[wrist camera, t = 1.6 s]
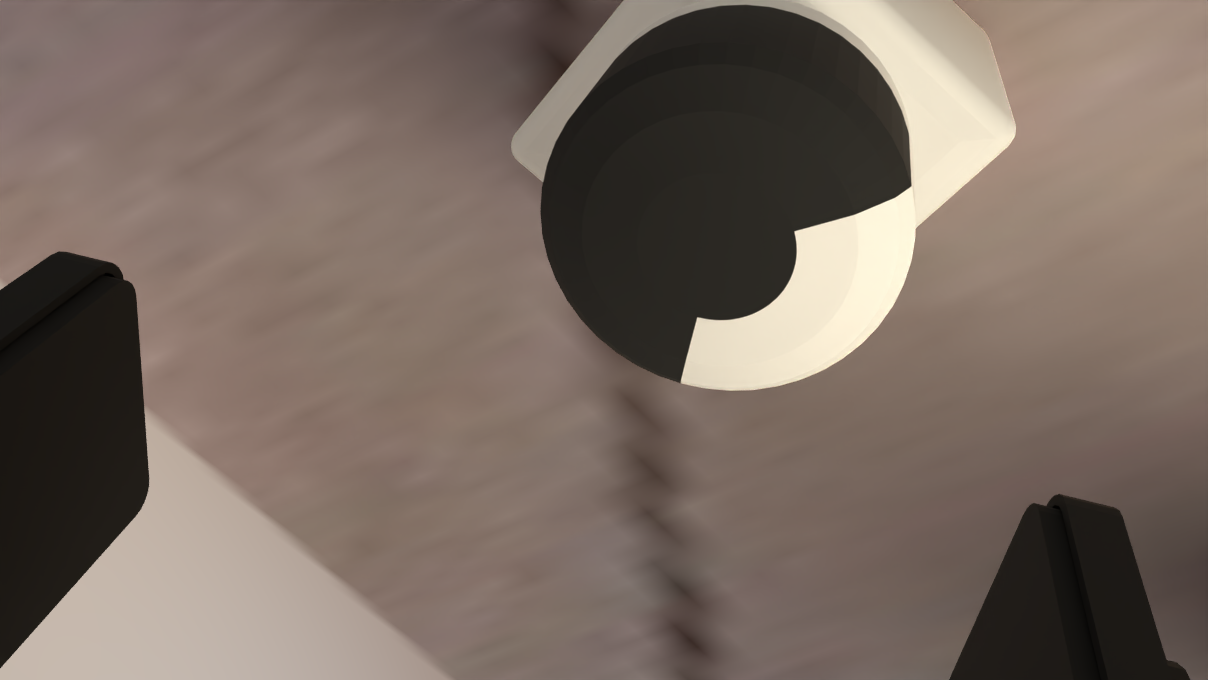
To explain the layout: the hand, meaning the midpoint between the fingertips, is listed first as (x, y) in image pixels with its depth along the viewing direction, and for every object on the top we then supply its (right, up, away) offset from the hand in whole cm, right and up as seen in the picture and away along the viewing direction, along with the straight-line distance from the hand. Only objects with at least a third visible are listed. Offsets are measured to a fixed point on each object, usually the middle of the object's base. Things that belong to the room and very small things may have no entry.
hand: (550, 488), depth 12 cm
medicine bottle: (+5, +9, +16) cm, 19 cm away
